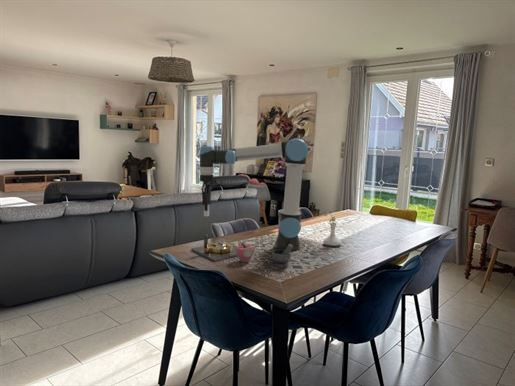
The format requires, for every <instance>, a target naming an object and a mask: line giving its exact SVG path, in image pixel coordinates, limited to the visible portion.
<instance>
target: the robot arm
mask: <svg viewBox="0 0 515 386" xmlns="http://www.w3.org/2000/svg"><path fill="white" fill-rule="evenodd" d="M308 153H309V147H308V144H307V143H306V141H304V139H301V138H297V137H296V138H291V139H289V140H284V141H279V143H275V144H274V143H273V144H265V145H257V146H256V145H255V146H254V145H253V146H246V147H236V148H226V149H221V150H220V149H218V150H217V149H215V148H214V146H212V145H211V146H209V145H204V146H203V145H201V146H200V149H199V168H198V170H199V181H200V182H202V186H201V187H202V188H200V190H201V199H202V205H203V217H209V216H210V205H211V204H212V203H211V201H212V200H211V197H212V188H213V187H212V184H211V183H212V182H214V173H215V171H214V167H215V166H214V165H217V164H219V165H234V164H236V162H244V161H252V160H261V159H262V160H263V159H273V158H281V159H284V164H285V165H286V172H285V173H286V174H285V175H286V176H285V185H284V197H283V208H282V209H279V211H278V228H277V229H278V233H277V237H276V241H275V243H274V248H275V249H276V250H286V248H287V247H288V244H291V245H292V246H293V248H292V249H291V251H290V252H292V251H297V250H300V249H301V243H300V238H299V234H300V233H301V232H300V231H301V229H302V224H301V220H302V212H301V211H300V201H301V190H302V179H303V178H302V177H303V168H304V166H306V164H307V157H308ZM209 218H210V217H209Z"/></svg>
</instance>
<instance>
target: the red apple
mask: <svg viewBox="0 0 515 386" xmlns="http://www.w3.org/2000/svg"><path fill="white" fill-rule="evenodd" d="M236 253H237V258H238V259H239V261H240V262H241V263H248V262H249V261H250V260H251V258H252V257H253V255H254V253H255V248H254V246H253V245H251V244H244V243H243V242H241V243H240V245H239V246H238V247H237V249H236Z"/></svg>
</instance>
